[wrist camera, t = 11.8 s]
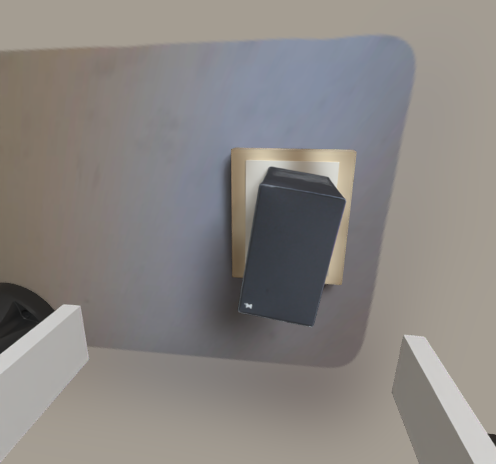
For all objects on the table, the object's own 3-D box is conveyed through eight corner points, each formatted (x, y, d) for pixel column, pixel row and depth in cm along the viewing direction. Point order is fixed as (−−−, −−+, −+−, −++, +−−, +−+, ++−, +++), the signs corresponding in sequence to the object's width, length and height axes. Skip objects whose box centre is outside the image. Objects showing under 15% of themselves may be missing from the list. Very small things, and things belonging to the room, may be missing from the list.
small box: (310, 273, 34) (316, 332, 25) (250, 261, 35) (233, 314, 25) (333, 176, 31) (352, 199, 21) (267, 164, 31) (254, 182, 22)
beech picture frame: (236, 267, 38) (231, 278, 36) (235, 147, 34) (230, 149, 31) (338, 274, 37) (341, 285, 34) (352, 149, 32) (356, 151, 30)
